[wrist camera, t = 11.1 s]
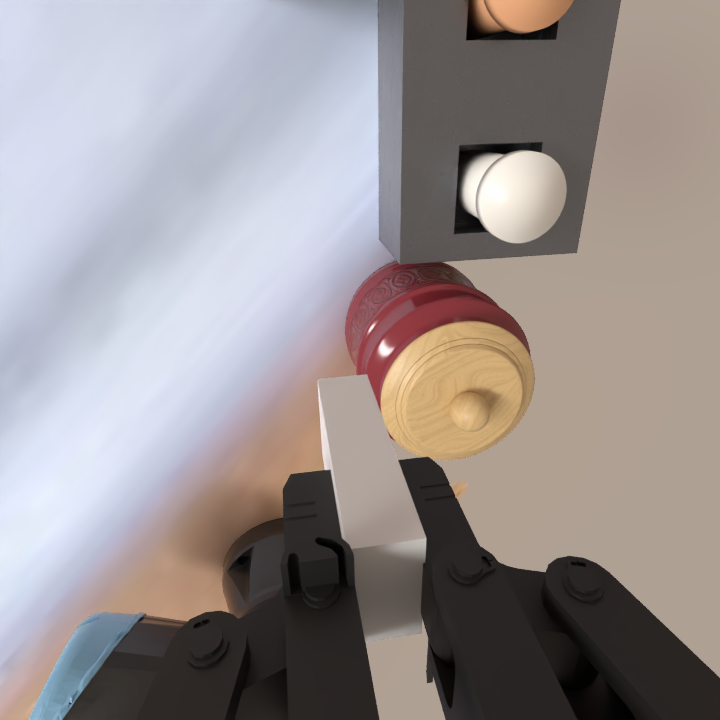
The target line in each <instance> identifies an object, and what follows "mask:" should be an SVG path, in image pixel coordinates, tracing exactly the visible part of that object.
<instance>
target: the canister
mask: <svg viewBox="0 0 720 720" xmlns="http://www.w3.org/2000/svg"><path fill="white" fill-rule="evenodd" d="M345 336H346V343H347V347H348V351H349V354H350V356H351V359H352V361H353V363H354V364H355V366H356V372H357V375H365V374H367V376H368V379H369V381H370V384H371V387H372V390H373V392H374V395H375V398H376V401H377V403H378V406H379V409H380V412H381V414H382V417H383V420H384V423H385V425H386V428H387V431H388V434H389V436H390V438H391V439H393V440H395V441H396V442H397V443H398V444H399V445H401V446H402V447H403V448H405V449H406V450H407V451H409V452H411V453H413V454H415V455H418V456H420V457H429V458H431V459H434V460H454V459H461V458H466V457H469V456H472V455H475V454H478V453H480V452H482V451H485V450H486V449H488V448H490V447H492V446H494V445H495V444H497V443H498V442H499V441H501V440H502V439H503V438H504V437H506V436H507V435H508V434H509V433H510V432H511V431H512V430H513V429H514V428H515V427H516V425H517V424H518V423H519V422H520V420H521V419H522V417H523V416H524V414H525V412H526V410H527V408H528V406H529V404H530V401H531V398H532V394H533V390H534V379H535V378H534V368H533V364H532V360H531V357H530V350H529V346H528V342H527V339H526V336H525V334H524V332H523V330H522V329H521V327H520V326H519V324H518V323H517V322H516V320H515V319H514V318H513V317H512V316H511V315H510V314H508V313H507V312H506V311H504V310H503V309H501V308H500V307H499V306H498V305H497V304H496V303H495V302H494V301H493V300H492V299H491V298H490V297H488V296H487V295H486V294H484V293H482V292H480V291H479V290H477V289H476V288H475V287H474V285H473V284H472V283H471V281H470V280H469V279H467V278H466V277H465V276H464V275H463V274H462V273H461V272H459V271H458V270H457V269H455V268H454V267H452V266H449V265H448V264H445V263H443V262H431V263H416V264H401V265H400V264H399V263H398V262H397V261H395V262H392V263H390V264H388V265H386V266H384V267H382V268H380V269H378V270H377V271H376V272H374V273H373V274H372V275H370V276H369V277H368V278H367V279H366V280H365V281H364V282H363V283H362V285H361V286H360V287H359V288H358V290H357V291H356V293H355V295H354V297H353V299H352V301H351V303H350V306H349V309H348V313H347V318H346V325H345Z"/></svg>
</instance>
